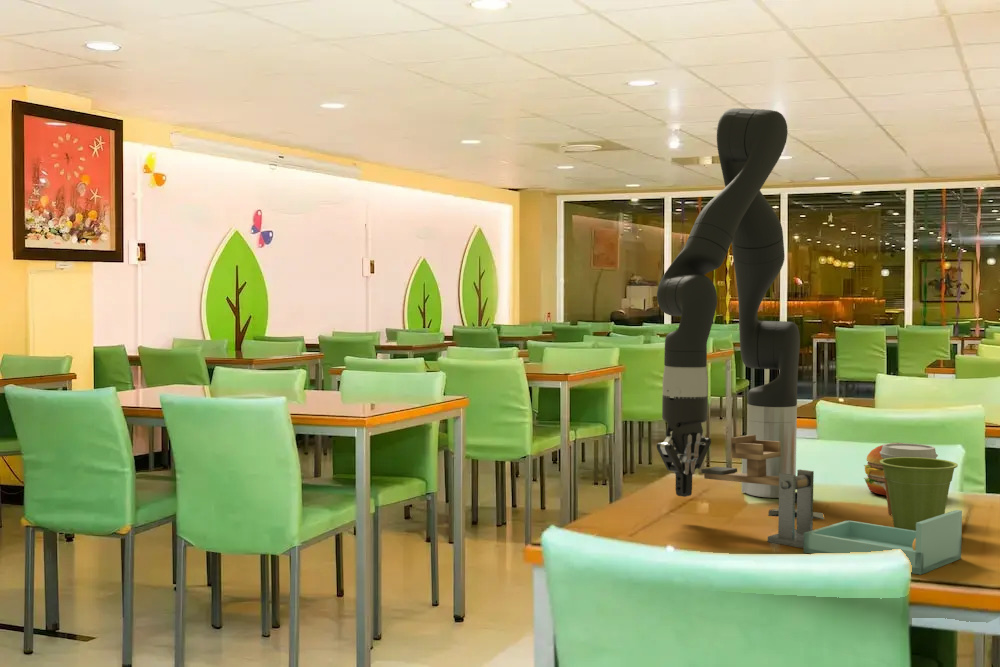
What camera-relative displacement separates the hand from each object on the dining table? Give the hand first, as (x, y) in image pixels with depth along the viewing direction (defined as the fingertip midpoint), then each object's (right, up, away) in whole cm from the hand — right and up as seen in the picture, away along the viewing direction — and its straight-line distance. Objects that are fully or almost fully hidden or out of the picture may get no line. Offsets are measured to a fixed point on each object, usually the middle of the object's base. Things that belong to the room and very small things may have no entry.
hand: (683, 495), depth 185 cm
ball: (+29, -3, -29) cm, 41 cm away
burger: (+46, -4, +27) cm, 54 cm away
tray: (+25, -5, -24) cm, 35 cm away
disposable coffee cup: (+40, -5, +7) cm, 41 cm away
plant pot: (+37, -5, -7) cm, 38 cm away
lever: (+10, +3, -10) cm, 14 cm away
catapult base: (+15, -5, -15) cm, 21 cm away
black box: (+21, -5, +6) cm, 22 cm away
